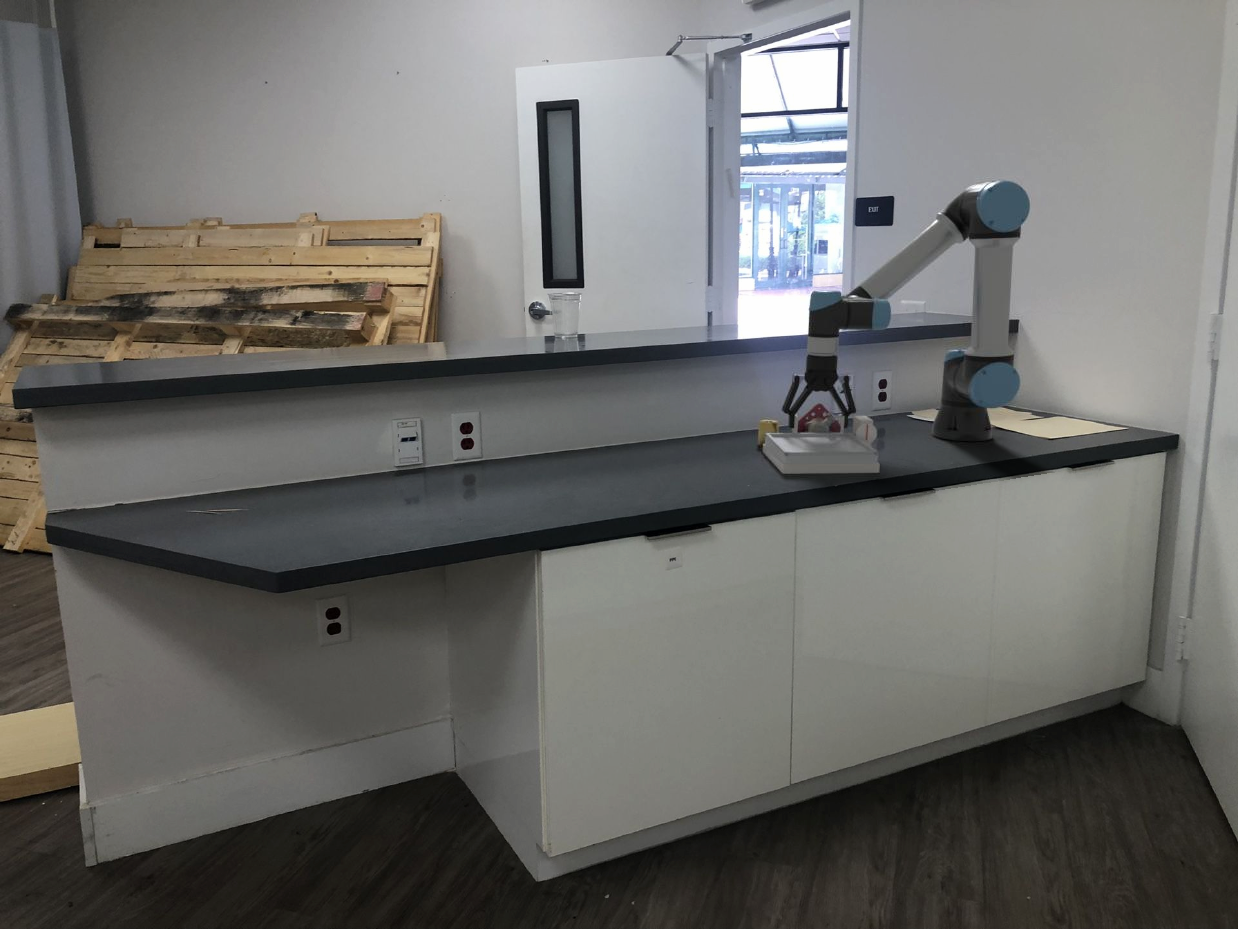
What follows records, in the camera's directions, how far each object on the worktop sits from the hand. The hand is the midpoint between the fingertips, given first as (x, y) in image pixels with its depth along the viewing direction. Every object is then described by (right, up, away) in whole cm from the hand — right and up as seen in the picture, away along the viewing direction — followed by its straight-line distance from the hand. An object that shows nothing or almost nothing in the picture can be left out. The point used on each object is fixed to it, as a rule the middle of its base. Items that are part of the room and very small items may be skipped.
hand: (817, 440), depth 243 cm
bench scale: (-1, -5, -15) cm, 16 cm away
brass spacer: (-12, -1, +2) cm, 12 cm away
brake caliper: (0, -2, 0) cm, 2 cm away
